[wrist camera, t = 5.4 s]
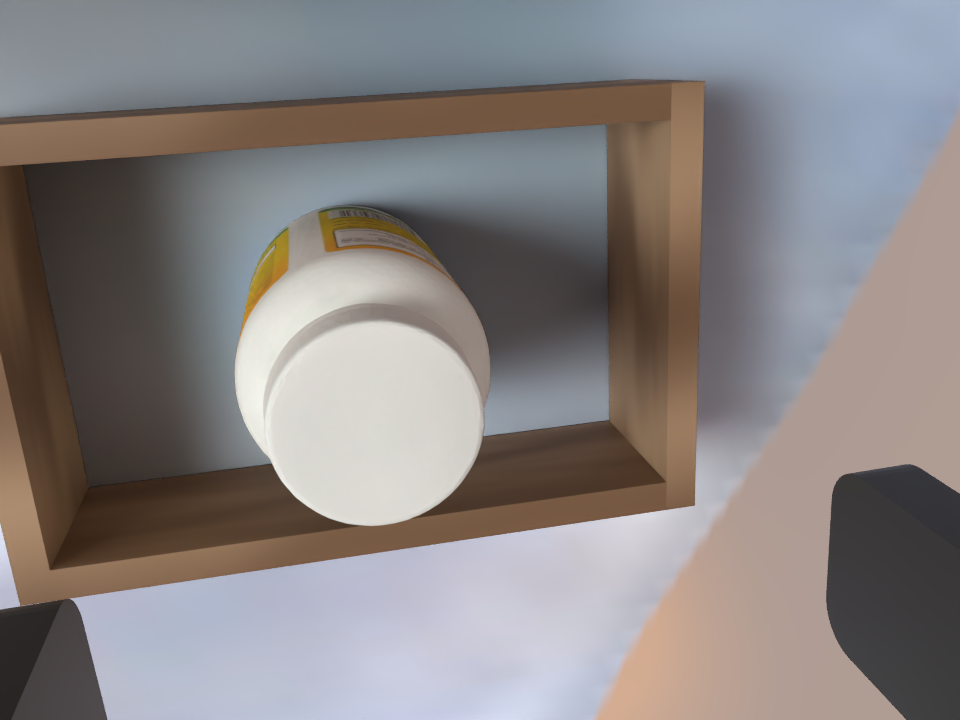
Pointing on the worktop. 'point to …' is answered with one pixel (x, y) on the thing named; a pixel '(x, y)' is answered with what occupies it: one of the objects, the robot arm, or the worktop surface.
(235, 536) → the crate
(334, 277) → the supplement bottle
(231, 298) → the worktop surface
